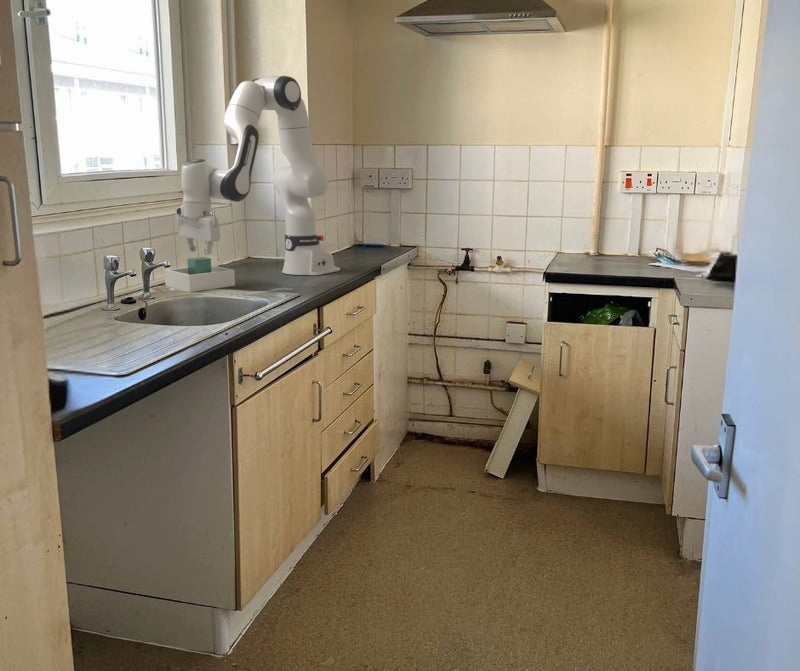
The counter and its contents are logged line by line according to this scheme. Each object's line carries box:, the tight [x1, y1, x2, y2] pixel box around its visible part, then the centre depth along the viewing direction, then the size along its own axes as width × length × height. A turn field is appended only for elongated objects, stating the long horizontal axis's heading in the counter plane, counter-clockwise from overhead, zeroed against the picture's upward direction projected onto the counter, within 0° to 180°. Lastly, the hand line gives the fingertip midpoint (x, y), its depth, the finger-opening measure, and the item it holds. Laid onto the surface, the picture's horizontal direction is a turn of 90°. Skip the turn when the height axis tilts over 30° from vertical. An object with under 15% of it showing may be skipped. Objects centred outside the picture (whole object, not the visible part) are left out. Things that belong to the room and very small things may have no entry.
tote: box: [164, 264, 236, 293], centre depth 263 cm, size 17×15×6 cm
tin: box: [187, 256, 212, 275], centre depth 262 cm, size 6×4×7 cm
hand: (200, 252), depth 261 cm, fingers open, 8 cm apart
